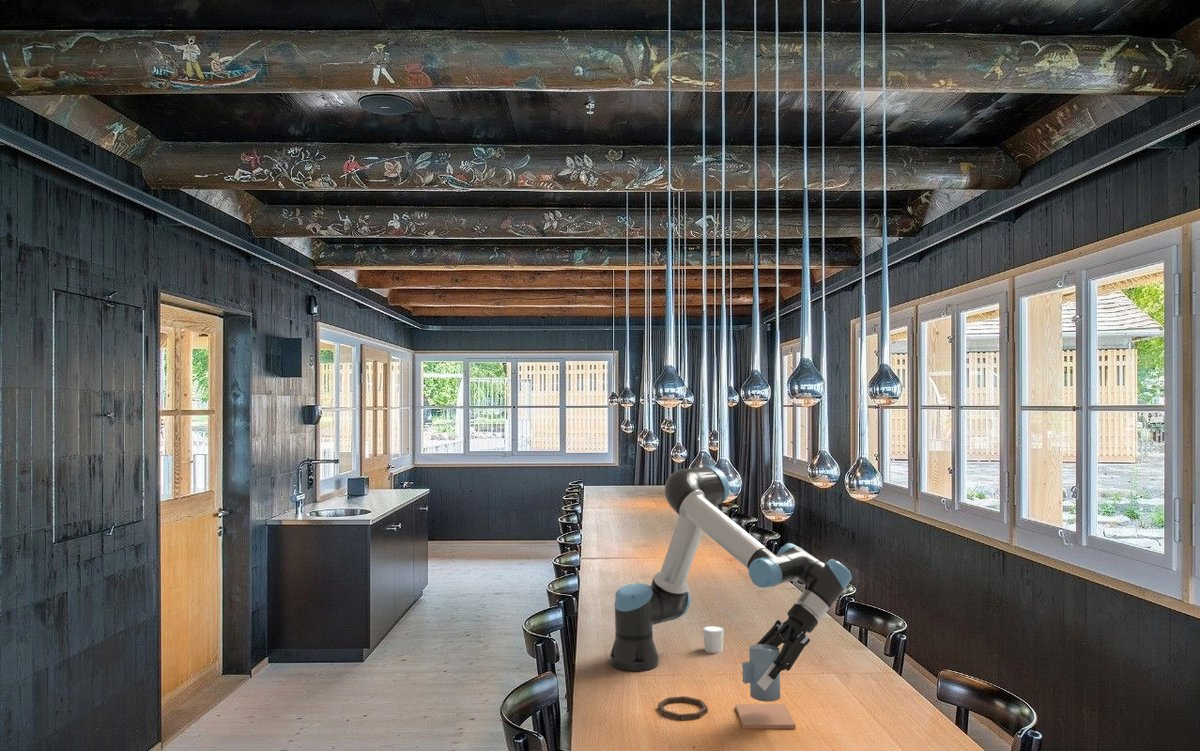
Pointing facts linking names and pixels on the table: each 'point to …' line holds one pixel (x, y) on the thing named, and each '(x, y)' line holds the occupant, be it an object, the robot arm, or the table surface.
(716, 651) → the white tapered cylinder
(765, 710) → the terracotta tile
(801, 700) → the table surface
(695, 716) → the walnut collar
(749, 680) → the grey canister
